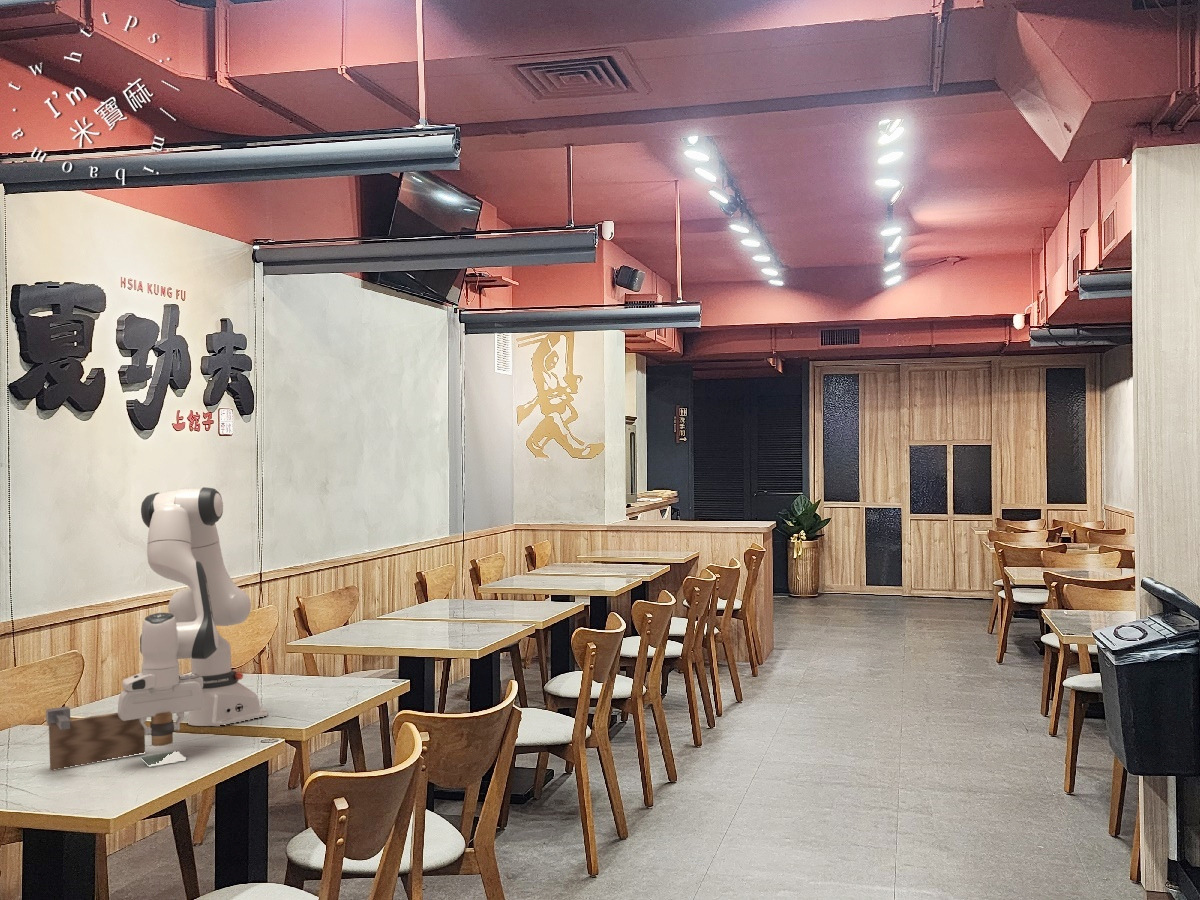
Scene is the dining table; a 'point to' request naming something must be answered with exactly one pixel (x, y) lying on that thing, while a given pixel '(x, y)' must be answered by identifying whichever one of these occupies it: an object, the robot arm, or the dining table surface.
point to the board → (94, 740)
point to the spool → (162, 729)
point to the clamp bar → (59, 717)
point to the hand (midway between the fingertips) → (162, 732)
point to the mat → (155, 758)
